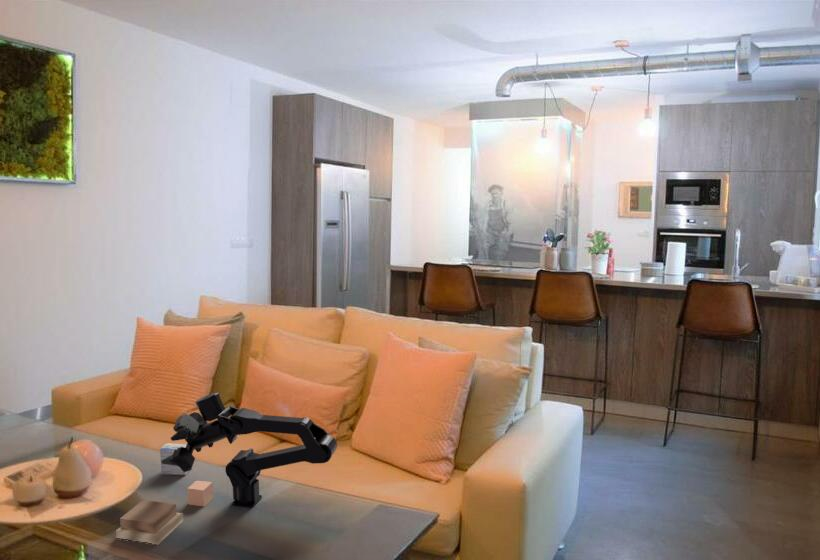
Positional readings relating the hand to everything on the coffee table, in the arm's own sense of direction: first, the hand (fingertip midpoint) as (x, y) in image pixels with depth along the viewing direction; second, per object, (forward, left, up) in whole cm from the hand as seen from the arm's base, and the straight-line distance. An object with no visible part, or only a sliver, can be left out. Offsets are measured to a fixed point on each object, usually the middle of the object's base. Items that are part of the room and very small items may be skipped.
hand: (166, 450), depth 200 cm
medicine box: (+6, -14, -14) cm, 20 cm away
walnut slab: (-6, +19, -11) cm, 23 cm away
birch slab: (-6, +18, -14) cm, 24 cm away
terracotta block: (-11, +1, -14) cm, 18 cm away
